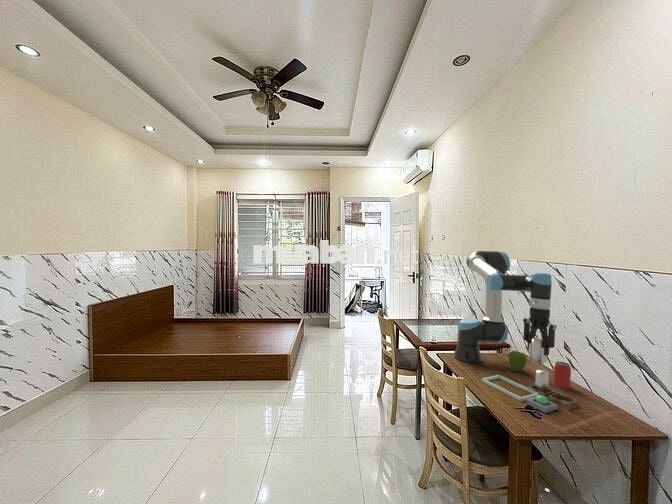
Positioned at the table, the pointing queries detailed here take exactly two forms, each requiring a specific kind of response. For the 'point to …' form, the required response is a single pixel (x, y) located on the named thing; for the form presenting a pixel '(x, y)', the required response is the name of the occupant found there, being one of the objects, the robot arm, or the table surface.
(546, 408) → the grey square button housing
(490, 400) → the table surface
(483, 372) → the table surface
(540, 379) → the cylinder
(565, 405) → the tray
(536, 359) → the cylinder
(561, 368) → the beer can
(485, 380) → the tray
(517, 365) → the apple
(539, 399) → the button
